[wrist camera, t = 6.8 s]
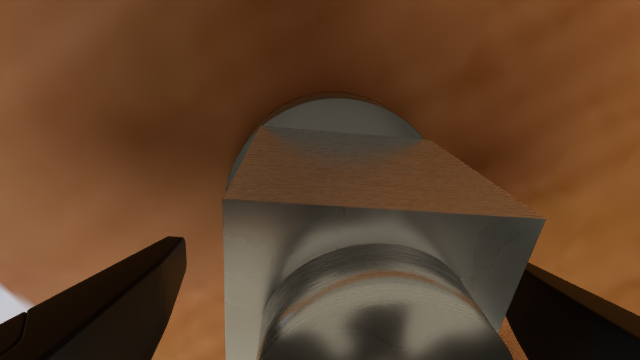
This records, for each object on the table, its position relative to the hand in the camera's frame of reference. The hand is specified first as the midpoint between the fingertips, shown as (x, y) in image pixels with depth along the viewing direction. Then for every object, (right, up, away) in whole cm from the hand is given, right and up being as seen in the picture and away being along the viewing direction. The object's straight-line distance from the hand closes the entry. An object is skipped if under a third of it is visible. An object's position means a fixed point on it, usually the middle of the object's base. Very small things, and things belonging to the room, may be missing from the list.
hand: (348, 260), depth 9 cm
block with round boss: (0, +1, +3) cm, 3 cm away
